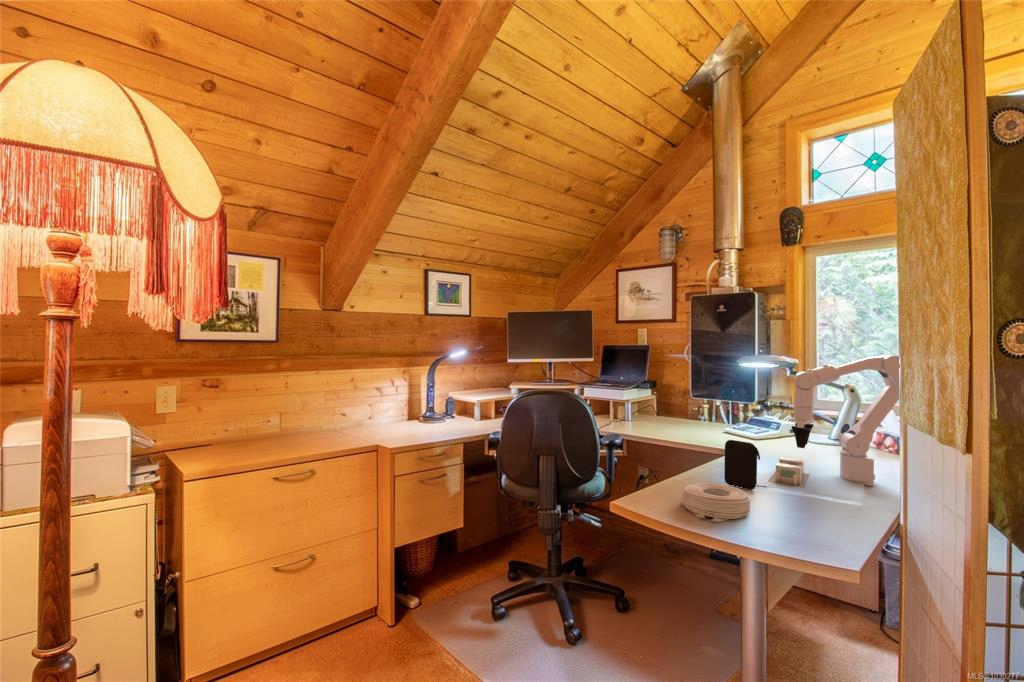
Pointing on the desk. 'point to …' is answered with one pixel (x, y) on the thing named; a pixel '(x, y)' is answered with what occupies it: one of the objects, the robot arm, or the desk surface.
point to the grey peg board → (776, 480)
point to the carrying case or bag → (741, 464)
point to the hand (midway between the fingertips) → (802, 445)
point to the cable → (716, 501)
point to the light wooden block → (789, 472)
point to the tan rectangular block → (793, 462)
